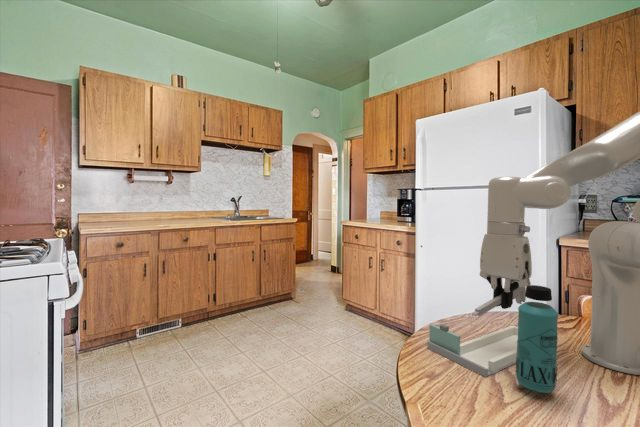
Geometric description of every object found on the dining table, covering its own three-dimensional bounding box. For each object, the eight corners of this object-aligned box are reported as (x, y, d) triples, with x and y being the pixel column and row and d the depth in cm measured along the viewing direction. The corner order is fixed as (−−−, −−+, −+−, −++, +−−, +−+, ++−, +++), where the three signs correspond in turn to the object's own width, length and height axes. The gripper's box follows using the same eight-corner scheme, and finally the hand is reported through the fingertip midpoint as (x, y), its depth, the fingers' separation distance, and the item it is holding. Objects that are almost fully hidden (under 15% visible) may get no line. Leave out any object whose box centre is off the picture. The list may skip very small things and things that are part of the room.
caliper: (520, 301, 80) (521, 277, 80) (525, 303, 79) (526, 278, 79) (471, 315, 70) (472, 287, 70) (476, 317, 69) (476, 289, 69)
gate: (460, 357, 72) (460, 331, 72) (457, 358, 71) (457, 332, 71) (432, 343, 79) (432, 320, 79) (428, 344, 78) (429, 320, 78)
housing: (549, 347, 78) (550, 337, 78) (485, 377, 64) (486, 365, 64) (490, 327, 91) (490, 318, 91) (427, 348, 77) (427, 338, 77)
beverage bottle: (507, 385, 61) (509, 284, 61) (529, 378, 64) (531, 281, 63) (542, 405, 55) (545, 293, 55) (565, 396, 58) (568, 289, 57)
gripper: (549, 231, 70) (546, 314, 70) (483, 226, 83) (481, 296, 84) (532, 233, 66) (529, 320, 66) (465, 227, 79) (463, 300, 80)
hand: (502, 306), depth 75 cm, fingers closed on caliper, 1 cm apart
